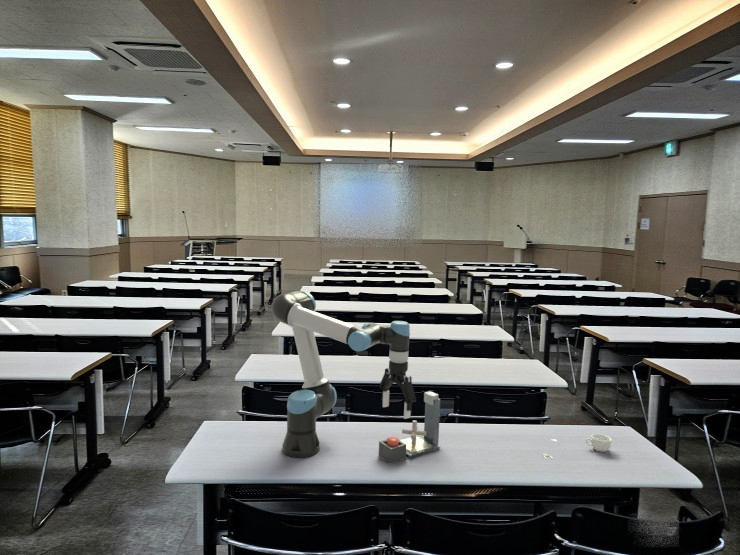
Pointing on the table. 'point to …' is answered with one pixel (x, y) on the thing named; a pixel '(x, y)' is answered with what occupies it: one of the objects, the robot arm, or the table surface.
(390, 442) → the press button
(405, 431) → the pipe connector
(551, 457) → the paper
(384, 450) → the button housing
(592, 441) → the teacup
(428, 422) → the press frame
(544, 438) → the table surface
